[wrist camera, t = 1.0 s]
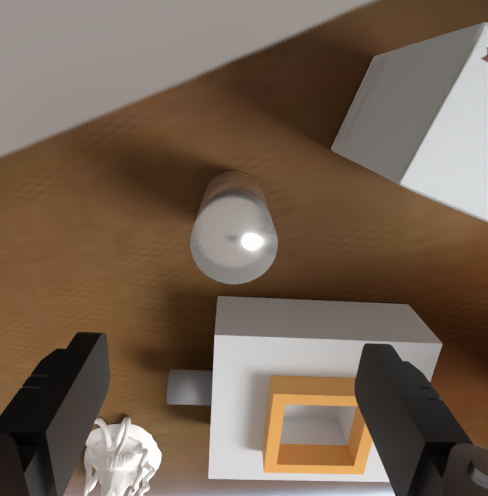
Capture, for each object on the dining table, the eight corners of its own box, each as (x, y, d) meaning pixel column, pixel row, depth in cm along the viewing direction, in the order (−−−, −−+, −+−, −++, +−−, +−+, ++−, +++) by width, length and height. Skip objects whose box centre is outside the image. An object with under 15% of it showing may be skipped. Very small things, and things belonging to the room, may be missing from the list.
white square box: (408, 304, 34) (457, 360, 27) (374, 429, 40) (406, 503, 32) (173, 293, 33) (156, 349, 25) (174, 424, 39) (161, 500, 31)
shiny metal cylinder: (266, 172, 29) (282, 205, 20) (261, 231, 31) (273, 286, 22) (204, 168, 29) (190, 199, 19) (202, 228, 31) (189, 282, 21)
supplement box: (327, 150, 28) (392, 184, 17) (373, 52, 26) (488, 11, 14) (406, 185, 30) (519, 238, 18) (458, 94, 27) (628, 88, 16)
